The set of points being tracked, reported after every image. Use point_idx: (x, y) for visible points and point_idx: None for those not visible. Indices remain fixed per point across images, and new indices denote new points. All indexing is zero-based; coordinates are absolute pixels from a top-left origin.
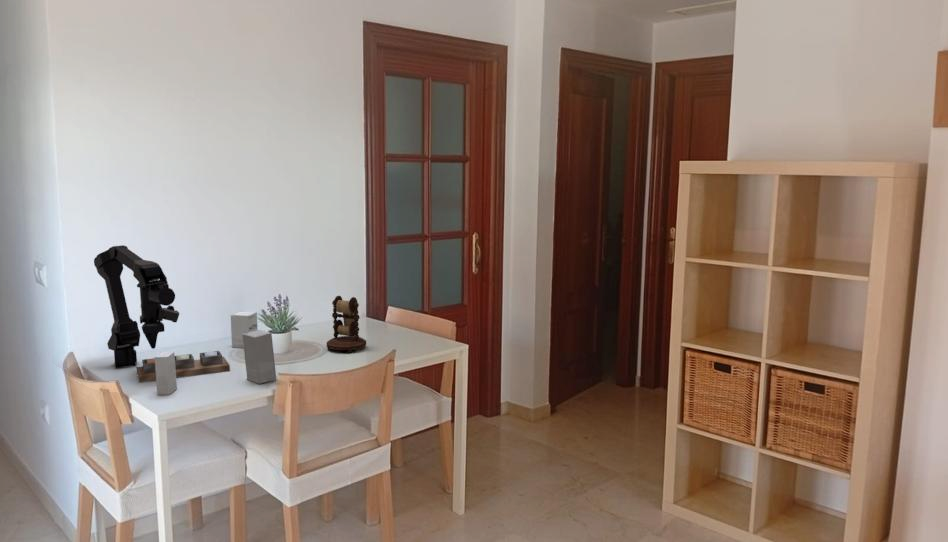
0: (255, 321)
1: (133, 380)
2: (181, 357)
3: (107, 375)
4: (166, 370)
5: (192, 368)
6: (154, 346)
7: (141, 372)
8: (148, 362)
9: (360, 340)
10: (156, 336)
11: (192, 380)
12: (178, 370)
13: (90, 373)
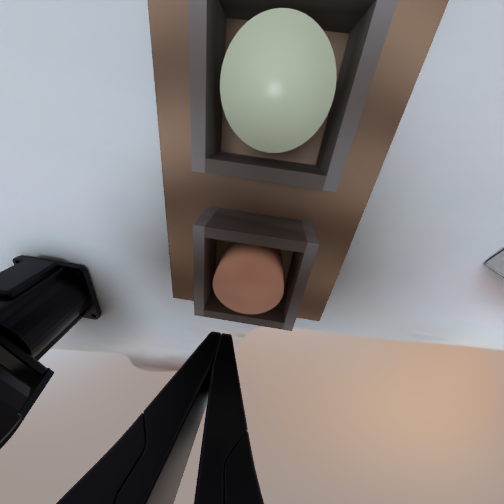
0: None
1: None
2: (309, 111)
3: (174, 342)
4: None
5: (390, 45)
6: (233, 352)
7: None
8: (265, 307)
9: None
10: (260, 492)
11: (498, 101)
12: (357, 158)
13: (136, 361)
